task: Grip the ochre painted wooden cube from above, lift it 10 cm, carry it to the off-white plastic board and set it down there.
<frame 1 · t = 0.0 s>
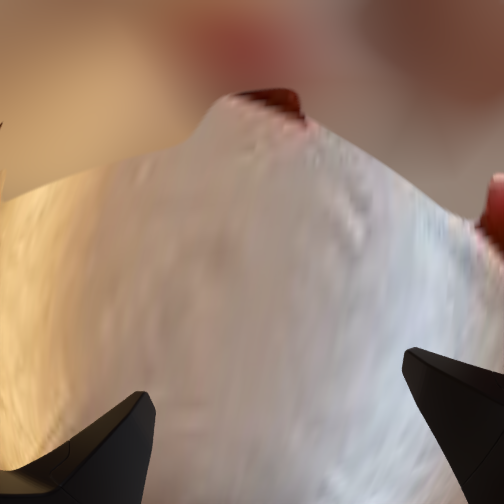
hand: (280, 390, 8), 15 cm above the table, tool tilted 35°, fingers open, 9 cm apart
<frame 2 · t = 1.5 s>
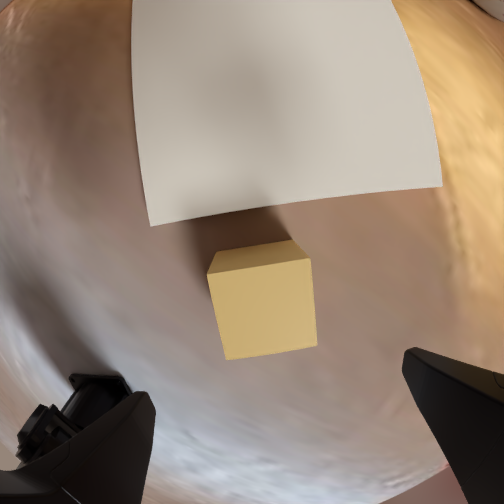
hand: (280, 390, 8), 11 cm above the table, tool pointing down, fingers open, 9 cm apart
board: (284, 58, 15), on the table
cube: (260, 281, 18), on the table
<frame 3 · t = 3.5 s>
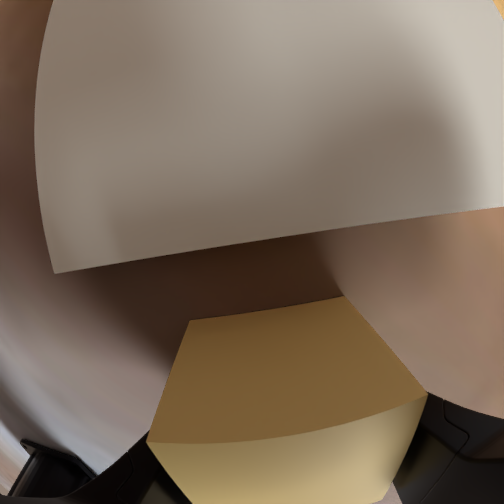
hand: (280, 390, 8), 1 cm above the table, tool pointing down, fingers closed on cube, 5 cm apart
cube: (276, 371, 9), on the table, touching gripper
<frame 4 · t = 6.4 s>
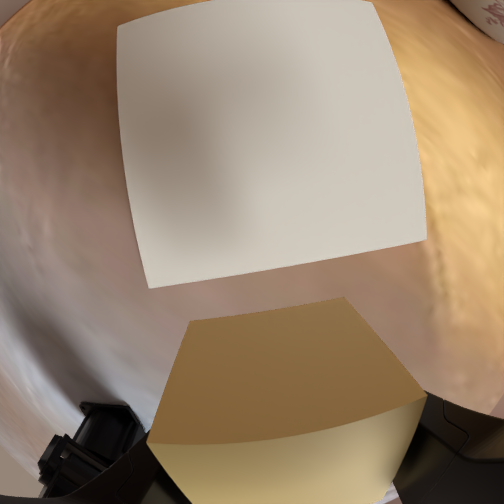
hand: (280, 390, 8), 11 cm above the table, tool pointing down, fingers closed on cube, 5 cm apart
board: (272, 113, 17), on the table
cube: (276, 372, 9), point 10 cm above the table, touching gripper
when the fingers open (4 cm above the table, at t = 9.3 s): cube drops 1 cm, resting on board.
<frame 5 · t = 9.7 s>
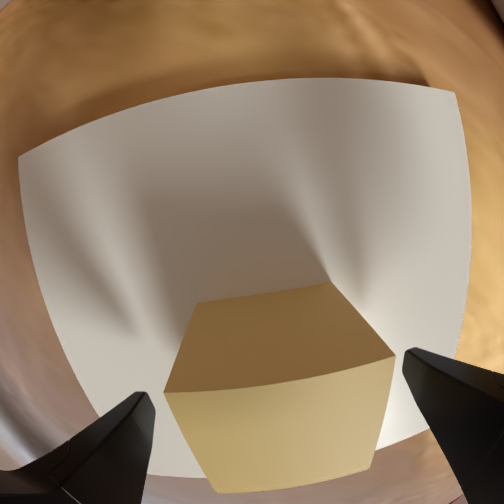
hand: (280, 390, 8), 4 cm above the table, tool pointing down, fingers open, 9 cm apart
board: (269, 331, 12), on the table
cube: (272, 350, 10), point 1 cm above the table, touching board
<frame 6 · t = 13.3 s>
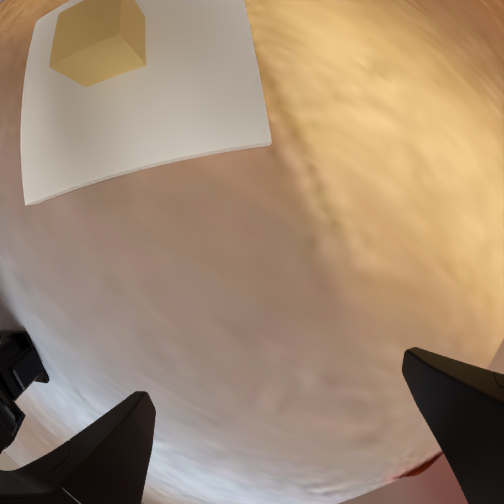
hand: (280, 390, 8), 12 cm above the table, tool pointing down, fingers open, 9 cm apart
board: (122, 57, 16), on the table
cube: (114, 50, 14), point 1 cm above the table, touching board
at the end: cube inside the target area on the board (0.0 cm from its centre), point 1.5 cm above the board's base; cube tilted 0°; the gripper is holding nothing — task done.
